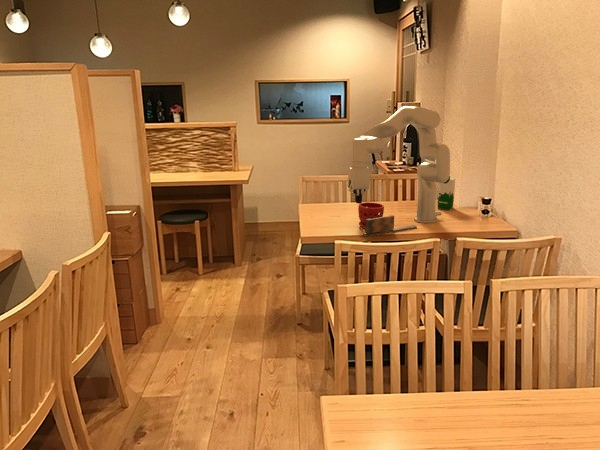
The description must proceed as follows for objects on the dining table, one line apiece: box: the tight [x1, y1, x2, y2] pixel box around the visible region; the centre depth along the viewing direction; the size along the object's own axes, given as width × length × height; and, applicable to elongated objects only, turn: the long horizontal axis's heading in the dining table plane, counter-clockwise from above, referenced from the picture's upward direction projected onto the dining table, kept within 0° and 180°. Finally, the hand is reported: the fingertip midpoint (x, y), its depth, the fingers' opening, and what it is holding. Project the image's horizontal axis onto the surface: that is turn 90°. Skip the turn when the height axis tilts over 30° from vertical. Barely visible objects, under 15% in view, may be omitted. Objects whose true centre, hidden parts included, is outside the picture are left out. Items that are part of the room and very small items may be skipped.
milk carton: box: [437, 175, 456, 211], centre depth 294 cm, size 9×9×20 cm
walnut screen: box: [364, 215, 395, 234], centre depth 248 cm, size 16×2×7 cm, turn 117°
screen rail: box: [363, 224, 418, 238], centre depth 252 cm, size 31×3×1 cm, turn 117°
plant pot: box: [358, 201, 385, 229], centre depth 259 cm, size 13×13×12 cm
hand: (358, 202), depth 238 cm, fingers closed
